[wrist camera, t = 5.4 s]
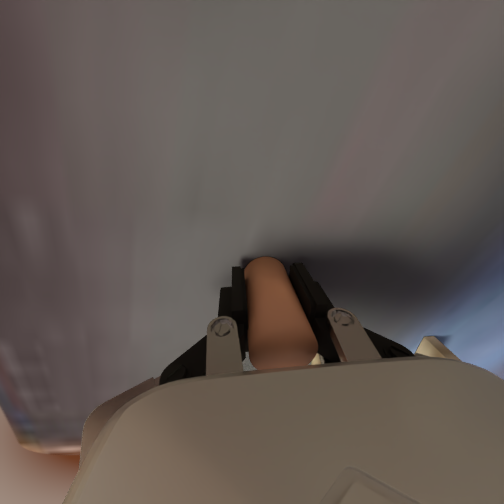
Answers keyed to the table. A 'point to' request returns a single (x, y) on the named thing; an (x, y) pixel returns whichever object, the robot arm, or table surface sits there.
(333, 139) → the table surface
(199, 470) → the robot arm
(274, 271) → the knob-topped lever
